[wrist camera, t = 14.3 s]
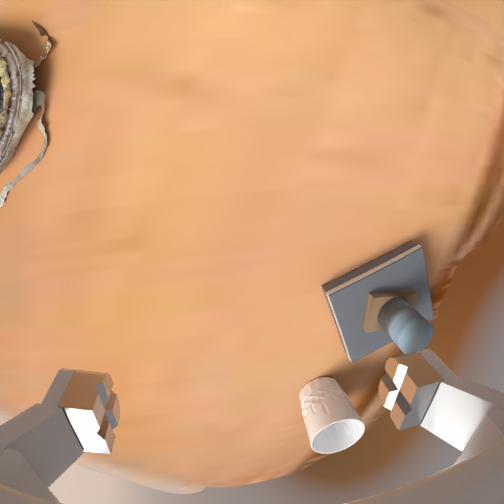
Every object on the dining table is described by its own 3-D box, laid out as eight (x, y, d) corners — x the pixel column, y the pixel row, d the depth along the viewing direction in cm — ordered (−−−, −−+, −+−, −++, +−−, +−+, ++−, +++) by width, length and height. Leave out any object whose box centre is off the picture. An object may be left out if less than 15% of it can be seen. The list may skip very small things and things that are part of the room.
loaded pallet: (361, 326, 40) (387, 361, 33) (368, 292, 39) (398, 323, 31) (404, 321, 41) (434, 351, 34) (412, 289, 39) (445, 316, 32)
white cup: (285, 393, 46) (300, 441, 37) (327, 365, 45) (351, 410, 36) (311, 415, 49) (327, 459, 39) (350, 389, 48) (373, 432, 39)
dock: (411, 240, 40) (423, 246, 38) (423, 308, 45) (433, 317, 42) (320, 285, 41) (328, 295, 38) (344, 351, 45) (351, 363, 42)
